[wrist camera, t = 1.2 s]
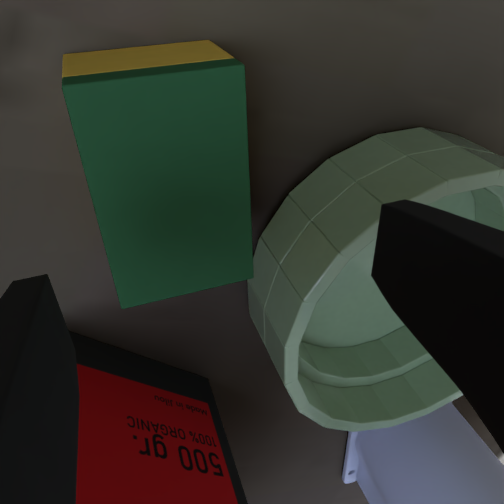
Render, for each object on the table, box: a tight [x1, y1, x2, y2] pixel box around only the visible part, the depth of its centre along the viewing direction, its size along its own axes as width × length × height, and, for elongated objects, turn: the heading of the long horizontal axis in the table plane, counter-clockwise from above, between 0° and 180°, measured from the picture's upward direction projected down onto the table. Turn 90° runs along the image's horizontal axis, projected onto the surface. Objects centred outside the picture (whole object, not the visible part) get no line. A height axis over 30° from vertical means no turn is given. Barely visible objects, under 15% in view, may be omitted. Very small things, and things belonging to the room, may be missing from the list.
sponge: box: [62, 40, 254, 309], centre depth 15 cm, size 7×4×4 cm, turn 2°
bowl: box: [247, 127, 504, 432], centre depth 20 cm, size 13×13×5 cm
